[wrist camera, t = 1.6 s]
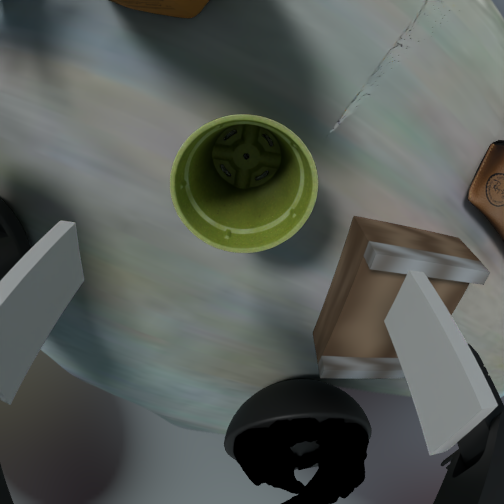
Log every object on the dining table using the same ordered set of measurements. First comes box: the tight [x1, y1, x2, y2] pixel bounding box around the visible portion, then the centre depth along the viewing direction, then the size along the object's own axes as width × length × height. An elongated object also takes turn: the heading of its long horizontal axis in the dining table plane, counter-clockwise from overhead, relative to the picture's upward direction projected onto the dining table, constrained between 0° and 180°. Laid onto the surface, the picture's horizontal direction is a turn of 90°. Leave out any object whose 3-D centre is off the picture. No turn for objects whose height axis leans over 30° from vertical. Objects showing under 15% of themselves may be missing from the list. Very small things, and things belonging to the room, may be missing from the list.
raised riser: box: [313, 216, 490, 379], centre depth 31 cm, size 14×16×7 cm
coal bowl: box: [224, 379, 371, 504], centre depth 37 cm, size 20×20×19 cm
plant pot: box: [170, 114, 318, 253], centre depth 23 cm, size 9×9×9 cm
